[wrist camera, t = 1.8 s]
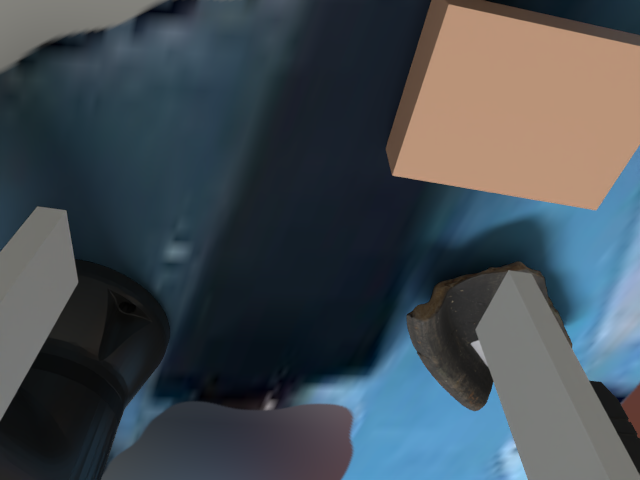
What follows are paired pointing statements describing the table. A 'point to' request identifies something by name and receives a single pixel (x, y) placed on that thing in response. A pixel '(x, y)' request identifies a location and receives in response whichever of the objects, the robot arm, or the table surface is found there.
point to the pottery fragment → (462, 331)
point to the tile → (518, 104)
